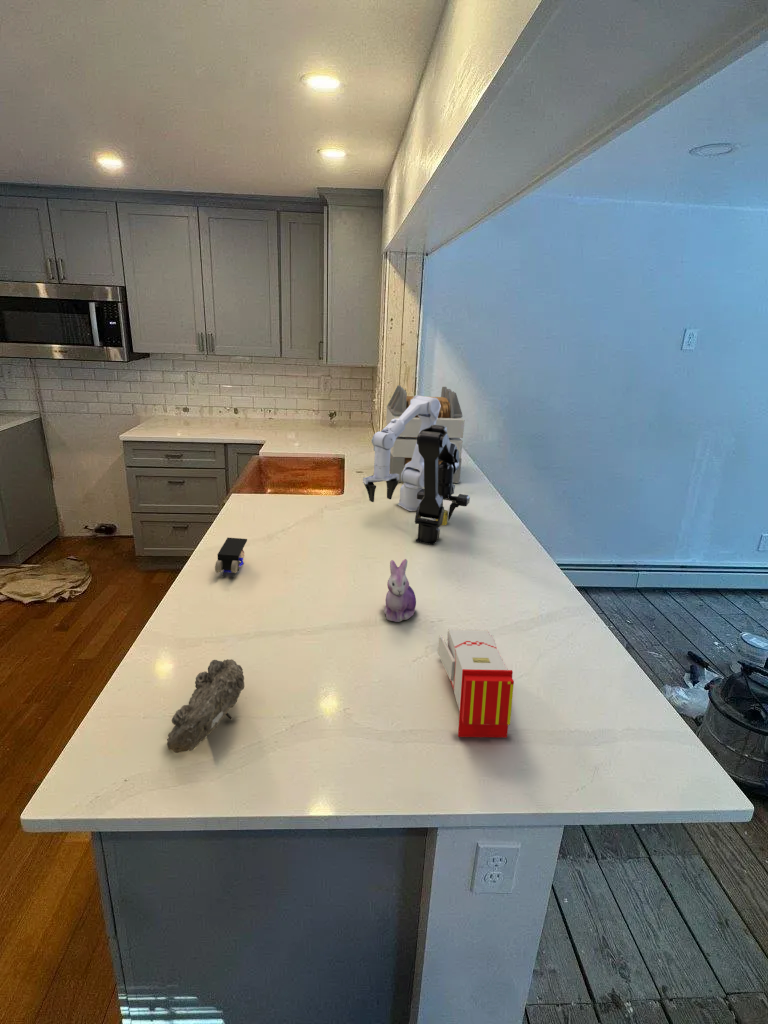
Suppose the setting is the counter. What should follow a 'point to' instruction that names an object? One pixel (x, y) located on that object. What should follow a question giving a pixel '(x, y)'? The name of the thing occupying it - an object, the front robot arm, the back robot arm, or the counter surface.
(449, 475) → the front robot arm
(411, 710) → the counter surface
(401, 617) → the figurine
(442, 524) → the cylinder
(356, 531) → the counter surface
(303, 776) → the counter surface
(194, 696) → the fossil
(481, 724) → the toy
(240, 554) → the black wheeled block
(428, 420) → the back robot arm
